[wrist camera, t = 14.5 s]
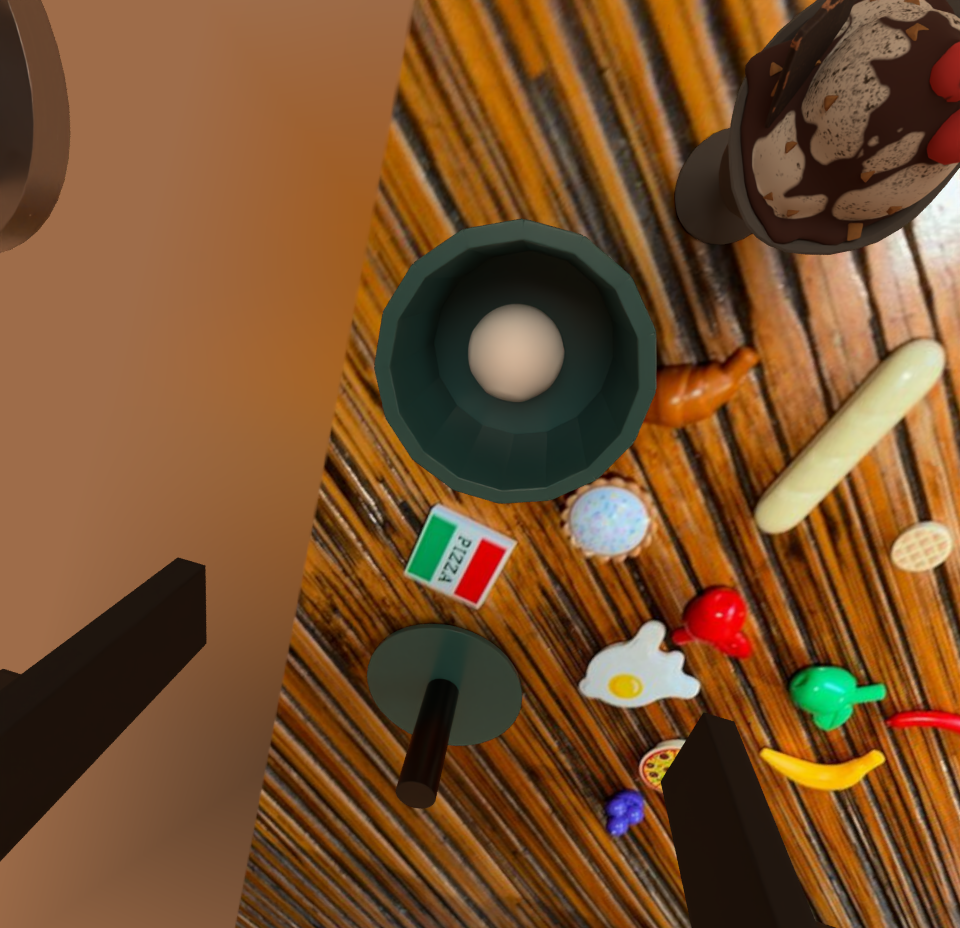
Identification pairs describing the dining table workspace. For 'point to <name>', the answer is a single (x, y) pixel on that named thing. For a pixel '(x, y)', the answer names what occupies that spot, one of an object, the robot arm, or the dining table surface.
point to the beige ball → (515, 352)
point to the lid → (441, 697)
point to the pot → (542, 419)
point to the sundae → (834, 130)
